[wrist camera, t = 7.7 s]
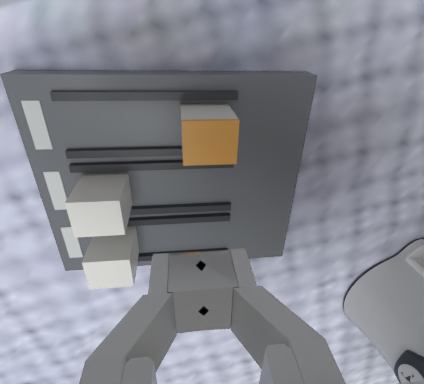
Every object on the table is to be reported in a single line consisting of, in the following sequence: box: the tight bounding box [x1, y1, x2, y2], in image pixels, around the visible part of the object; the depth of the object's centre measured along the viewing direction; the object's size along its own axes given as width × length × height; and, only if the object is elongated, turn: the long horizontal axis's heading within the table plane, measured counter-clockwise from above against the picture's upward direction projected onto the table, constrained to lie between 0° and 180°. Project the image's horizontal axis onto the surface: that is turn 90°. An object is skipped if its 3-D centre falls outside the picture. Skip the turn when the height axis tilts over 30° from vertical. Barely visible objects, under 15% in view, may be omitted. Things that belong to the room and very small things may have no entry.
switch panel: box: [0, 70, 317, 289], centre depth 24 cm, size 22×18×6 cm
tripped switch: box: [180, 104, 240, 166], centre depth 20 cm, size 4×3×4 cm
